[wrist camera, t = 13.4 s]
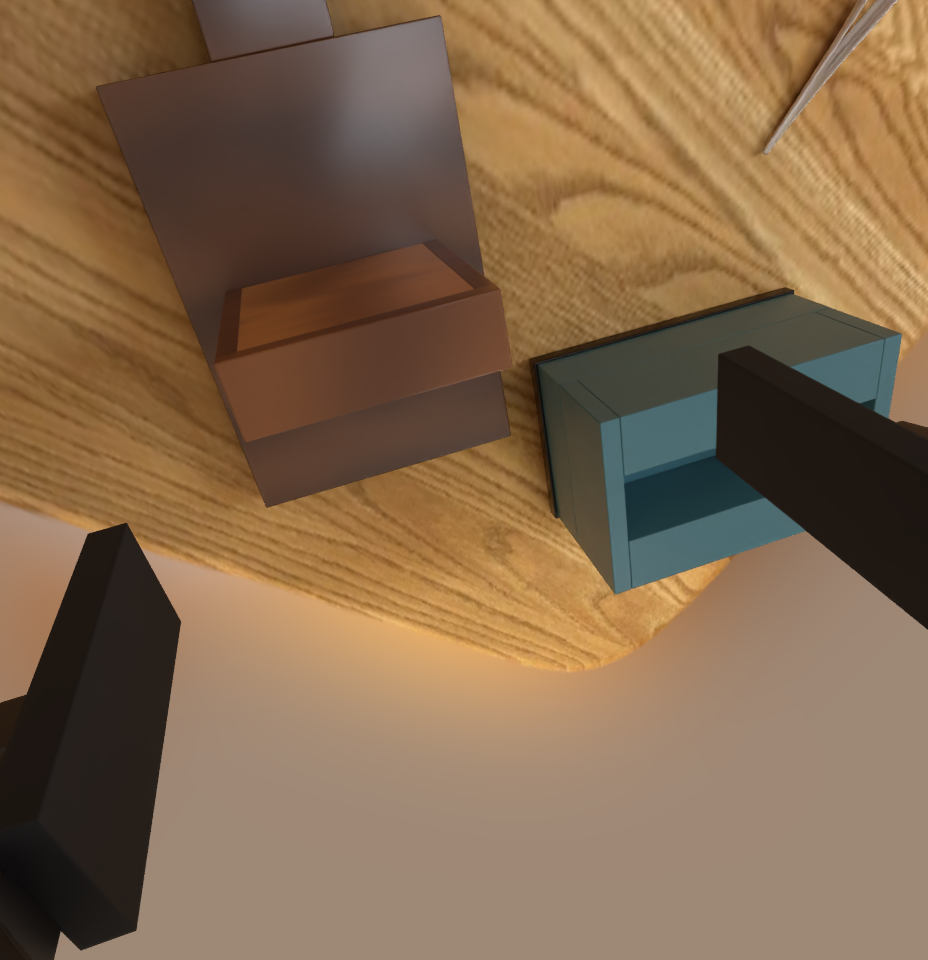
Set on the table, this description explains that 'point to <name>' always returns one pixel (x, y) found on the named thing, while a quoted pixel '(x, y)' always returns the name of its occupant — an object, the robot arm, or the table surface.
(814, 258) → the table surface
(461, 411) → the bread board
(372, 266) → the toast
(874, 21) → the tweezers
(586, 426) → the toaster
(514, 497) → the table surface
